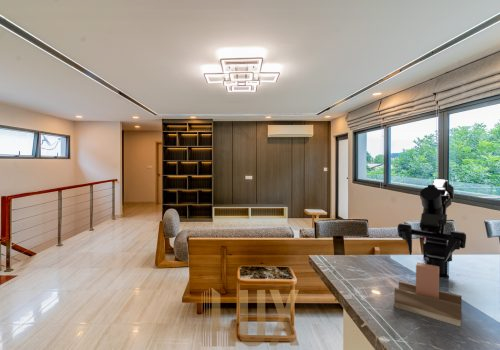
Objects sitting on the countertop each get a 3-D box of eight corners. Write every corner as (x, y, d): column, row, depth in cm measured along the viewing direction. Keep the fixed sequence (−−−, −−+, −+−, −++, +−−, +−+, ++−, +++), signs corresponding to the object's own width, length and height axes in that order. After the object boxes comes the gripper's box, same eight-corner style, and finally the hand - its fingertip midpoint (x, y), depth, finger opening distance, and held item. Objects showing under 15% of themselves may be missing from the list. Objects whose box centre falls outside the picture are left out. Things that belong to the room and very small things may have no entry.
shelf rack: (399, 294, 88) (400, 279, 88) (461, 310, 78) (461, 294, 78) (393, 306, 80) (393, 290, 80) (460, 326, 70) (461, 308, 70)
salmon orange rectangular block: (416, 300, 82) (417, 262, 82) (438, 306, 78) (439, 266, 78) (415, 304, 80) (416, 265, 79) (437, 310, 76) (438, 269, 76)
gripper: (399, 200, 93) (391, 239, 86) (468, 207, 82) (466, 252, 74) (402, 218, 100) (395, 255, 92) (465, 226, 89) (463, 270, 81)
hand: (427, 257), depth 85 cm, fingers open, 9 cm apart
